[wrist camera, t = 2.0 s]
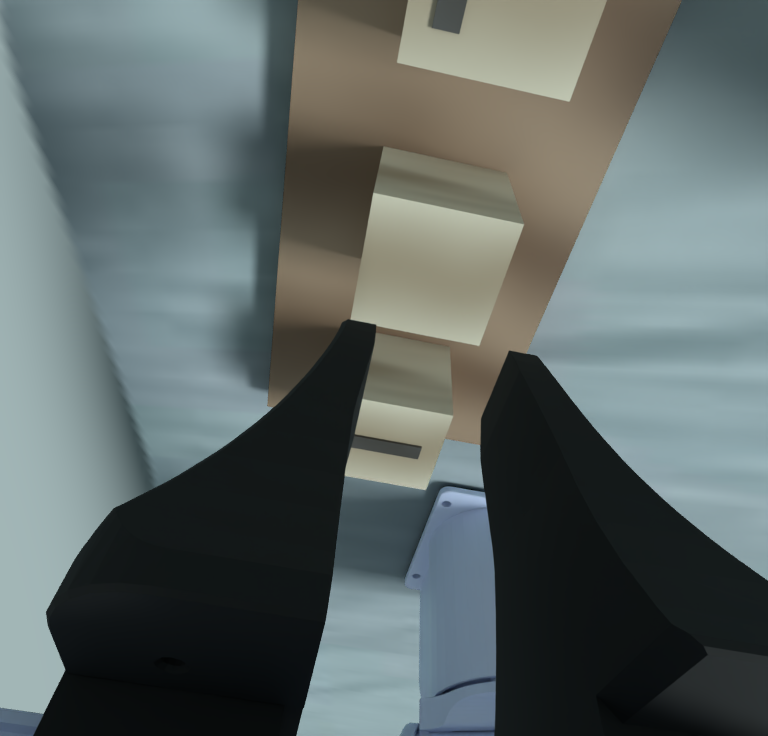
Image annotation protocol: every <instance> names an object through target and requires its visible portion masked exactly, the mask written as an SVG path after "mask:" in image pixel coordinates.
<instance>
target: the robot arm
mask: <svg viewBox="0 0 768 736" xmlns="http://www.w3.org/2000/svg"><path fill="white" fill-rule="evenodd" d="M375 336H376V324H371V323H366V322H361V321H355V320H350V319H347V320H345V321H344V322H342V323H341V326H340V328H339V330H338V332H337V334H336V336H335V337H334V339H333V340H332V342H331V343H330V345H329V346H328V348H327V349H326V350H325V352H324V353H323V354H322V356H321V357H320V358H319V359H318V361H317V362H316V363H315V364H314V366H313V367H312V368H311V369H310V371H309V372H308V373H307V374H306V375H305V376H304V377H303V378H302V379H301V380H300V382H299V383H298V384H297V385H296V386H295V387H294V388H293V389H292V390H291V391H290V392H289V393H288V394H287V395H286V396H285V397H284V398H283V399H282V400H281V401H280V402H279V403H278V404H277V405H276V406H275V407H274V408H272V409H271V410H270V411H269V412H268V413H267V414H266V415H264V416H263V417H262V418H261V419H260V420H259V421H257V422H256V423H255V424H254V425H252V426H251V427H250V428H248V429H247V430H246V431H245V432H243V433H242V434H241V435H239V436H238V437H237V438H235V439H234V440H233V441H231V442H230V443H228V444H227V445H226V446H224V447H223V448H221V449H220V450H218V451H217V452H215V453H214V454H212V455H211V456H209V457H207V458H206V459H204V460H202V461H201V462H199V463H198V464H196V465H194V466H193V467H191V468H189V469H188V470H186V471H185V472H183V473H181V474H180V475H178V476H176V477H175V478H173V479H171V480H169V481H167V482H165V483H163V484H162V485H160V486H158V487H156V488H154V489H152V490H150V491H148V492H146V493H144V494H142V495H140V496H138V497H136V498H134V499H132V500H130V501H128V502H126V503H124V504H122V505H120V506H118V507H115V508H114V509H113V510H112V511H111V512H110V513H109V515H108V516H107V517H106V518H105V519H104V521H103V522H102V523H101V524H100V526H99V527H98V528H97V529H96V531H95V532H94V533H93V535H92V536H91V538H90V539H89V540H88V542H87V543H86V544H85V545H84V547H83V548H82V549H81V551H80V552H79V554H78V555H77V557H76V558H75V560H74V562H73V563H72V565H71V567H70V569H69V571H68V572H67V574H66V576H65V578H64V580H63V582H62V583H61V586H60V587H59V589H58V591H57V593H56V594H55V596H54V598H53V600H52V602H51V604H50V606H49V608H48V609H47V611H46V615H47V623H48V627H49V630H50V632H51V634H52V637H53V640H54V642H55V645H56V647H57V650H58V652H59V654H60V657H61V660H62V662H63V664H64V667H65V672H64V674H63V677H62V678H61V680H60V682H59V685H58V686H57V688H56V690H55V692H54V695H53V696H52V698H51V700H50V703H49V704H48V706H47V708H46V711H45V712H44V714H40V713H33V712H26V711H19V710H12V709H5V708H0V736H296V734H297V730H298V726H299V722H300V718H301V714H302V710H303V708H304V705H305V701H306V697H307V693H308V689H309V685H310V681H311V677H312V673H313V669H314V665H315V661H316V657H317V653H318V649H319V645H320V641H321V637H322V633H323V629H324V625H325V621H326V615H327V609H328V602H329V596H330V589H331V582H332V576H333V567H334V558H335V549H336V541H337V532H338V524H339V516H340V508H341V500H342V492H343V485H344V477H345V470H346V465H347V461H348V457H349V454H350V450H351V446H352V442H353V439H354V435H355V430H356V426H357V421H358V417H359V412H360V408H361V403H362V399H363V394H364V389H365V385H366V380H367V376H368V371H369V367H370V362H371V358H372V353H373V349H374V344H375ZM480 452H481V467H482V475H483V483H484V490H485V492H479V491H474V490H468V489H462V488H457V487H451V486H447V487H443V488H442V489H441V490H440V491H439V493H438V496H437V498H436V501H435V503H434V506H433V508H432V511H431V513H430V516H429V519H428V521H427V524H426V526H425V529H424V531H423V534H422V536H421V539H420V541H419V544H418V546H417V549H416V551H415V554H414V557H413V559H412V562H411V564H410V567H409V569H408V572H407V574H406V577H405V586H406V587H407V588H410V589H415V590H420V645H419V687H420V694H421V699H420V713H419V723H409V724H406V726H405V727H404V729H403V730H402V733H401V734H400V736H768V581H767V580H766V579H765V578H763V577H762V576H760V575H759V574H758V573H756V572H755V571H753V570H752V569H751V568H749V567H748V566H746V565H745V564H744V563H742V562H741V561H739V560H738V559H737V558H735V557H734V556H732V555H731V554H730V553H728V552H727V551H726V550H724V549H723V548H722V547H720V546H719V545H718V544H717V543H715V542H714V541H713V540H711V539H710V538H709V537H707V536H706V535H705V534H704V533H703V532H701V531H700V530H699V529H698V528H696V527H695V526H694V525H693V524H692V523H690V522H689V521H688V520H687V519H686V518H684V517H683V516H682V515H681V514H679V513H678V512H677V511H676V510H675V509H674V508H673V507H671V506H670V505H669V504H668V503H667V502H666V501H665V500H663V499H662V498H661V497H660V496H659V495H658V494H657V493H656V492H655V491H654V490H653V489H652V488H651V487H650V486H649V485H648V484H646V483H645V482H644V481H643V480H642V479H641V478H640V477H639V476H638V475H637V474H636V473H635V472H634V471H633V470H632V469H631V468H630V467H629V466H628V465H627V464H626V463H625V462H624V461H623V460H622V459H621V457H620V456H619V455H618V454H617V453H616V452H615V451H614V450H613V449H612V448H611V446H610V445H609V444H608V443H607V442H606V441H605V440H604V439H603V438H602V436H601V435H600V434H599V433H598V432H597V431H596V429H595V428H594V427H593V426H592V425H591V423H590V422H589V421H588V420H587V419H586V417H585V416H584V415H583V414H582V412H581V411H580V410H579V409H578V407H577V406H576V405H575V404H574V402H573V401H572V400H571V399H570V397H569V396H568V395H567V393H566V392H565V391H564V389H563V388H562V387H561V386H560V384H559V383H558V382H557V380H556V379H555V378H554V376H553V375H552V374H551V373H550V371H549V370H548V369H547V367H546V366H545V365H544V364H543V362H542V361H541V360H540V359H539V358H538V357H537V356H535V355H530V354H525V353H520V352H515V351H510V350H509V352H508V354H507V357H506V359H505V362H504V364H503V366H502V369H501V371H500V374H499V376H498V378H497V381H496V383H495V386H494V388H493V391H492V393H491V395H490V398H489V400H488V403H487V405H486V407H485V410H484V412H483V415H482V417H481V436H480Z"/></svg>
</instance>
